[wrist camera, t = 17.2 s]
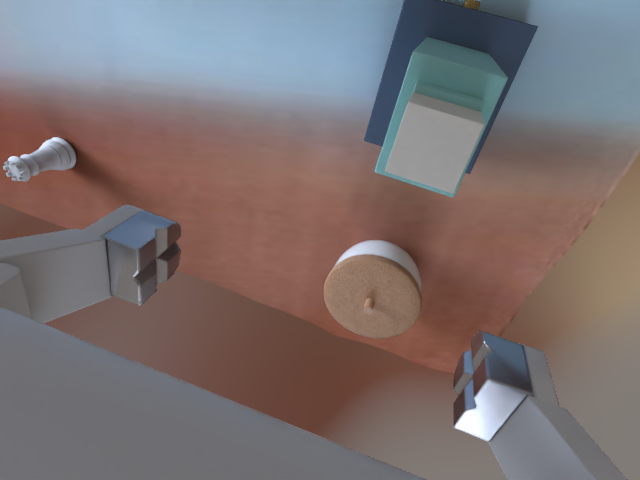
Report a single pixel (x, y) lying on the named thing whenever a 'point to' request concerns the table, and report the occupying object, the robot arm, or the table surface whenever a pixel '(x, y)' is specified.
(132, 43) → the table surface
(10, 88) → the table surface
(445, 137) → the two-tone mint box
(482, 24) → the blue box
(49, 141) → the rook chess piece
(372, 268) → the trinket box
